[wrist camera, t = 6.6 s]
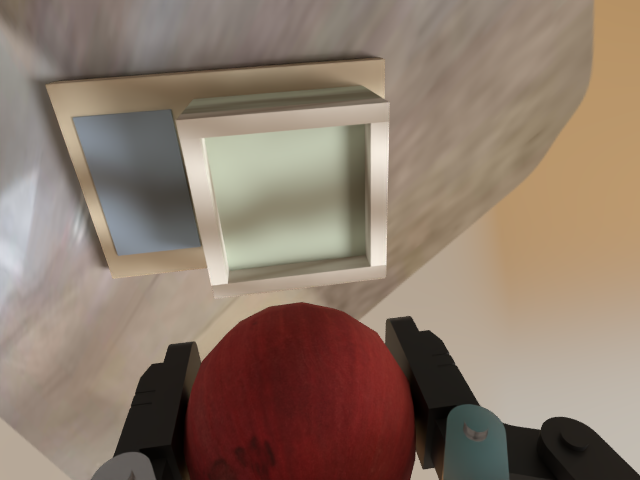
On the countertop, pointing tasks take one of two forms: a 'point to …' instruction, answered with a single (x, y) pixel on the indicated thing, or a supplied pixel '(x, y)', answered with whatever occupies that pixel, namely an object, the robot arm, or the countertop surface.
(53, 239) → the countertop surface
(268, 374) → the onion
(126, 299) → the countertop surface
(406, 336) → the robot arm
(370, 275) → the tray with open box
